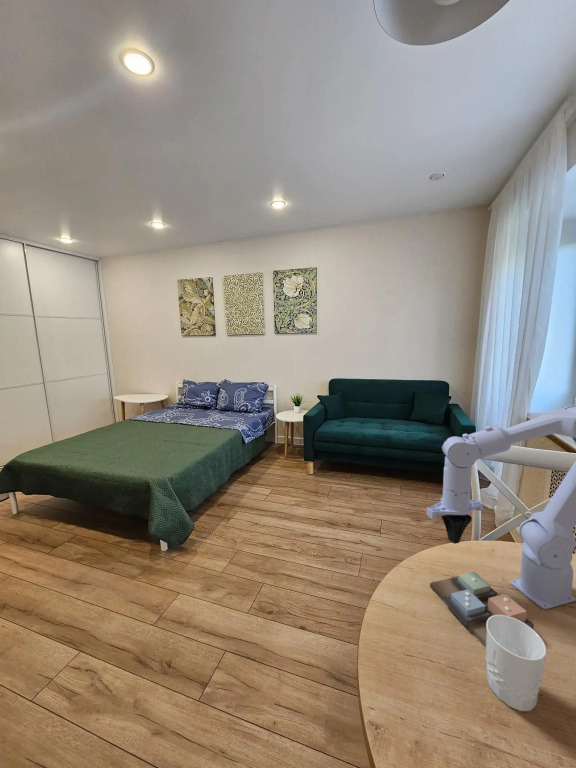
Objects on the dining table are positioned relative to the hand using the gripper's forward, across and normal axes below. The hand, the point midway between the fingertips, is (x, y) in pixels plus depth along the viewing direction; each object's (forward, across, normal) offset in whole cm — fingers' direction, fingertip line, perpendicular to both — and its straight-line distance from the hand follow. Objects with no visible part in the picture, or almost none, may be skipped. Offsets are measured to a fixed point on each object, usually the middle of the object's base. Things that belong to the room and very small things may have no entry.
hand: (453, 540), depth 74 cm
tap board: (+10, +2, +10) cm, 14 cm away
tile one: (+9, -1, +5) cm, 10 cm away
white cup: (+10, +9, +23) cm, 27 cm away
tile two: (+8, -1, +14) cm, 16 cm away
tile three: (+9, +5, +9) cm, 14 cm away
